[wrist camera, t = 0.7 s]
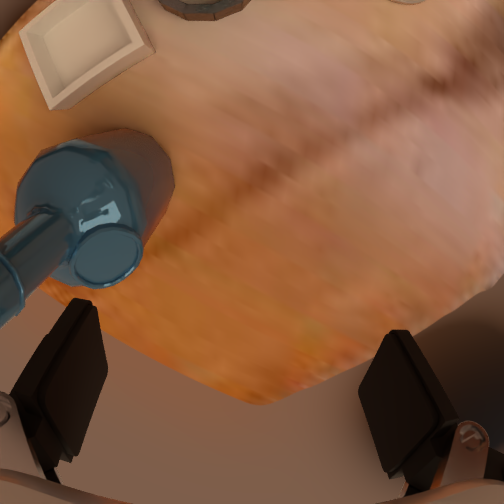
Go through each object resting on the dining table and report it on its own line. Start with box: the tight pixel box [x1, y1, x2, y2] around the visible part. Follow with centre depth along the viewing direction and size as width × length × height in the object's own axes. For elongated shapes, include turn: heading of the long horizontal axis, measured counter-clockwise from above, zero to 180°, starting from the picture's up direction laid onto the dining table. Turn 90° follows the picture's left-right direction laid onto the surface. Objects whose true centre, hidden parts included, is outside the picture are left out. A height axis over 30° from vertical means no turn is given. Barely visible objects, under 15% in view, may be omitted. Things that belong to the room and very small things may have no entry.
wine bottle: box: [0, 128, 175, 329], centre depth 23 cm, size 14×13×30 cm
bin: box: [19, 0, 156, 110], centre depth 26 cm, size 13×13×5 cm
